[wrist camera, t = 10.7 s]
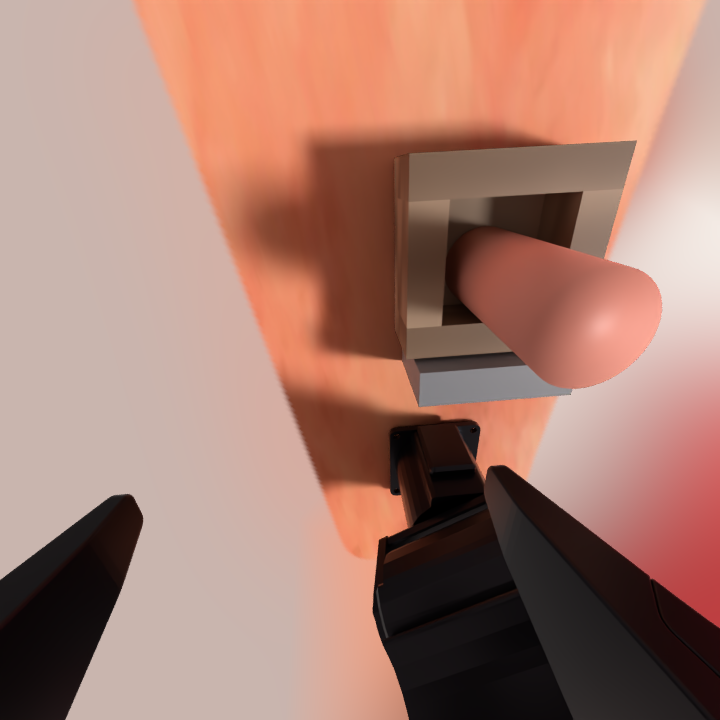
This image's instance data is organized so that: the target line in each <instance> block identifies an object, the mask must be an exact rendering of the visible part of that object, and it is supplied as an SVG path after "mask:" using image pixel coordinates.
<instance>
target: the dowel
mask: <svg viewBox="0 0 720 720" xmlns="http://www.w3.org/2000/svg"><path fill="white" fill-rule="evenodd" d="M445 281H446V284H447V286H448V288H449V290H450V291H451V292H452V293H453V294H454V295H455V296H456V297H457V298H458V299H459V300H460V301H461V302H462V303H463V304H464V305H465V306H466V307H467V308H468V309H469V310H470V311H471V312H472V313H473V314H474V315H475V316H477V317H478V318H479V319H480V320H481V321H482V322H483V323H484V324H485V325H486V326H487V327H488V328H489V329H490V330H491V331H492V332H493V333H494V334H495V335H496V336H497V337H498V338H499V339H500V340H501V341H502V342H503V343H504V344H506V345H507V346H508V347H509V348H510V349H511V350H512V351H513V352H514V353H515V354H516V355H517V356H518V357H519V358H520V359H521V360H522V361H523V362H524V363H525V364H526V365H527V366H528V367H529V368H530V369H531V370H532V371H533V372H535V373H536V374H537V375H538V376H539V377H540V378H541V379H542V380H543V381H545V382H547V383H548V384H551V385H553V386H556V387H560V388H567V389H577V388H585V387H589V386H593V385H596V384H599V383H602V382H604V381H606V380H609V379H611V378H612V377H614V376H616V375H617V374H619V373H620V372H622V371H623V370H625V369H626V368H627V367H629V366H630V365H631V364H632V363H633V362H634V361H635V360H636V359H637V358H638V357H639V356H640V355H641V354H642V353H643V352H644V351H645V349H646V348H647V346H648V345H649V344H650V342H651V340H652V339H653V337H654V335H655V333H656V331H657V328H658V325H659V322H660V319H661V313H662V300H661V295H660V291H659V289H658V287H657V285H656V283H655V282H654V281H653V280H652V278H651V277H649V276H648V275H647V274H646V273H644V272H642V271H640V270H638V269H635V268H632V267H629V266H625V265H622V264H619V263H615V262H612V261H609V260H605V259H602V258H599V257H595V256H592V255H588V254H585V253H582V252H578V251H575V250H572V249H568V248H565V247H562V246H558V245H555V244H551V243H548V242H545V241H541V240H538V239H535V238H531V237H528V236H524V235H521V234H518V233H514V232H511V231H508V230H504V229H501V228H498V227H493V226H482V227H478V228H474V229H472V230H470V231H468V232H466V233H465V234H463V235H462V236H461V237H460V238H459V239H458V240H457V241H456V242H455V243H454V244H453V246H452V247H451V248H450V250H449V252H448V254H447V257H446V266H445Z"/></svg>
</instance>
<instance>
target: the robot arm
mask: <svg viewBox="0 0 720 720" xmlns="http://www.w3.org/2000/svg"><path fill="white" fill-rule="evenodd" d="M471 428H474V429H472V430H470V429H471ZM395 434H399V435H397V436H394V435H395ZM479 436H480V427H479V425H478V423H477V422H474V421H470V422H458V423H446V424H434V425H422V426H409V427H397V428H393V429H391V430H390V432H389V471H390V492H391V494H392V495H401V496H402V501H403V506H404V511H405V516H406V520H407V525H408V528H407V529H405V530H403V531H401V532H399V533H396V534H394V535H392V536H390V537H388V536H386V537H384V538H381V539H379V545H378V555H377V565H376V575H375V585H374V594H373V615H374V618H375V621H376V625H377V629H378V632H379V636H380V638H381V641H382V644H383V646H384V648H385V650H386V652H387V655H388V656H389V659H390V661H391V663H392V665H393V667H394V670H395V673H396V676H397V679H398V681H399V685H400V687H401V691H402V694H403V697H404V701H405V705H406V709H407V713H408V717H409V720H720V628H719V627H717V626H716V625H714V624H713V623H712V622H710V621H709V620H707V619H706V618H704V617H703V616H702V615H701V614H699V613H698V612H697V611H695V610H694V609H693V608H691V607H690V606H688V605H687V604H686V603H684V602H683V601H682V600H680V599H679V598H678V597H676V596H675V595H674V594H672V593H671V592H670V591H668V590H667V589H666V588H665V587H663V586H662V585H660V584H659V583H658V582H657V581H656V580H654V579H650V577H649V575H648V574H646V573H644V571H642V570H641V569H640V568H638V567H637V566H636V565H635V564H633V563H632V562H631V561H629V560H628V559H627V558H625V557H624V556H623V555H621V554H620V553H619V552H618V551H616V550H615V549H614V548H612V547H611V546H610V545H608V544H607V543H606V542H605V541H603V540H602V539H600V538H599V537H598V536H597V535H596V534H594V533H593V532H592V531H590V530H589V529H588V528H586V527H585V526H584V525H583V524H581V523H580V522H579V521H577V520H576V519H575V518H573V517H572V516H571V515H570V514H568V513H567V512H566V511H564V510H563V509H562V508H560V507H559V506H558V505H557V504H555V503H554V502H553V501H551V500H550V499H549V498H547V497H546V496H545V495H543V494H542V493H541V492H540V491H538V490H537V489H535V488H534V487H533V486H532V485H530V484H529V483H528V482H527V481H525V480H524V479H523V478H521V477H520V476H519V475H517V474H516V473H515V472H514V471H512V470H511V469H510V468H508V467H507V466H505V465H497V466H490V467H489V468H488V470H487V475H486V480H485V479H484V477H483V475H482V473H481V471H480V469H479V467H478V465H477V463H476V456H477V449H478V442H479ZM142 525H143V515H142V513H141V511H140V509H139V507H138V505H137V503H136V501H135V499H134V497H133V496H132V495H130V494H124V495H114V496H111V497H110V498H108V499H107V500H105V501H104V502H103V503H101V504H100V505H99V506H97V507H96V508H95V509H93V510H92V511H91V512H90V513H88V514H87V515H85V516H84V517H83V518H82V519H80V520H79V521H78V522H76V523H75V524H74V525H72V526H71V527H70V528H68V529H67V530H66V531H64V532H63V533H62V534H61V535H59V536H58V537H56V538H55V539H54V540H53V541H51V542H50V543H49V544H47V545H46V546H45V547H43V548H42V549H41V550H39V551H38V552H37V553H35V554H34V555H33V556H31V557H30V558H29V559H27V560H26V561H25V562H24V563H22V564H21V565H19V566H18V567H17V568H16V569H14V570H13V571H11V572H10V573H9V574H7V575H6V576H5V577H4V578H2V579H1V580H0V720H65V719H66V717H67V715H68V712H69V710H70V708H71V705H72V703H73V700H74V698H75V696H76V693H77V691H78V689H79V687H80V684H81V682H82V680H83V678H84V675H85V673H86V670H87V668H88V666H89V664H90V661H91V659H92V657H93V654H94V652H95V650H96V648H97V645H98V643H99V641H100V638H101V636H102V634H103V631H104V629H105V627H106V624H107V622H108V620H109V617H110V615H111V613H112V611H113V608H114V605H115V604H116V601H117V599H118V596H119V594H120V591H121V589H122V586H123V583H124V580H125V577H126V574H127V571H128V568H129V565H130V562H131V559H132V556H133V553H134V550H135V547H136V544H137V541H138V538H139V535H140V531H141V529H142Z"/></svg>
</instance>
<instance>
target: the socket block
mask: <svg viewBox="0 0 720 720" xmlns="http://www.w3.org/2000/svg"><path fill="white" fill-rule="evenodd" d="M636 142H637V141H621V142H603V143H585V144H567V145H550V146H532V147H514V148H496V149H478V150H461V151H443V152H425V153H409V154H406V155H403V156H399V157H396V158H394V241H395V332H396V334H397V337H398V339H399V342H400V344H401V347H402V350H403V352H404V355H405V357H406V359H419V358H433V357H446V356H459V355H472V354H485V353H499V352H512V350H511V349H510V348H509V347H508V346H507V345H506V344H504V343H503V342H502V341H501V340H500V339H499V338H498V337H497V336H496V335H495V334H494V333H493V332H492V331H491V330H490V329H489V328H488V327H487V326H486V325H485V324H484V323H483V322H482V321H481V320H480V319H479V318H478V317H477V316H475V315H474V314H473V313H472V312H471V311H470V310H469V309H468V308H467V307H466V306H465V305H464V304H463V303H462V302H461V301H460V300H459V299H458V298H457V297H456V296H455V295H454V294H453V293H452V292H451V291H450V290H449V288H448V286H447V284H446V281H445V266H446V257H447V254H448V252H449V250H450V248H451V247H452V246H453V244H454V243H455V242H456V241H457V240H458V239H459V238H460V237H461V236H462V235H463V234H465V233H466V232H468V231H470V230H472V229H474V228H478V227H482V226H493V227H498V228H501V229H504V230H508V231H511V232H514V233H518V234H521V235H524V236H528V237H531V238H535V239H538V240H541V241H545V242H548V243H551V244H555V245H558V246H562V247H565V248H568V249H572V250H575V251H578V252H582V253H585V254H588V255H592V256H595V257H599V258H602V259H604V256H605V252H606V249H607V245H608V242H609V238H610V235H611V231H612V227H613V224H614V220H615V217H616V213H617V210H618V206H619V202H620V199H621V195H622V192H623V188H624V185H625V181H626V178H627V174H628V170H629V167H630V163H631V160H632V156H633V153H634V149H635V146H636Z"/></svg>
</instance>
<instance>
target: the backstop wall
mask: <svg viewBox="0 0 720 720" xmlns="http://www.w3.org/2000/svg"><path fill="white" fill-rule="evenodd" d="M402 362H403V364H404V367H405V370H406V373H407V375H408V378H409V381H410V384H411V386H412V389H413V392H414V395H415V397H416V400H417V403H418V406H419V407H424V406H437V405H449V404H462V403H474V402H487V401H499V400H511V399H524V398H536V397H549V396H561V395H571V392H572V389H567V388H560V387H556V386H553V385H551V384H548V383H547V382H545V381H543V380H542V379H541V378H540V377H539V376H538V375H537V374H536V373H535V372H533V371H532V370H531V369H530V368H529V367H528V366H527V365H526V364H525V363H524V362H523V361H522V360H521V359H520V358H519V357H518V356H517V355H516V354H515V353H514V352H513V351H512V352H499V353H485V354H472V355H459V356H446V357H433V358H419V359H406V357H405V355H404V352H403V350H402Z"/></svg>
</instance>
